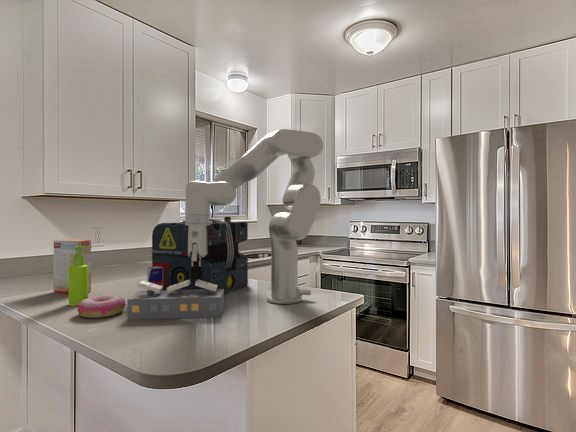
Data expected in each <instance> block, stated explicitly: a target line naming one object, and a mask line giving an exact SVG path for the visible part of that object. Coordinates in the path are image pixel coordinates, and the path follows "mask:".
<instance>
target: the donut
mask: <svg viewBox="0 0 576 432" xmlns="http://www.w3.org/2000/svg"><path fill="white" fill-rule="evenodd" d="M76 307H77V308H76V309H77V310H76V311H77V312H78V314H79V315H80V316H81V317H82V318H85V319H103V318H109V317H112V316H117V315H118V314H120V313H121V312H122V311H124V309H125V307H126V300H125V298H124V297H123V296H121V295H115V294H110V295H109V294H106V295H104V294H103V295H98V296H93V297H92V296H91V297H88V299H85V300H83V301H82V302H80V303H79V305H78V306H76Z"/></svg>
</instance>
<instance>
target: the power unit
mask: <svg viewBox="0 0 576 432" xmlns="http://www.w3.org/2000/svg"><path fill="white" fill-rule="evenodd" d="M248 228H249V227H248V222H247V221H232V218H231V216H225V217H223V220H221V219H218V218H210V225H207V250H208V253H207V255H206V256H205V257H202V279H194V280H192V279H191V267H192V257H189V256H188V229H189V225H185V220H182V221H180V222H161V223H158V224H156V226H155V227H154V228H153V230H152V235H151V247H152V248H151V267H155V266H160V267H163V290H167V288H168V287H169V286H172V285H175V284H178V283H179V282H183V281H186V280H189V279H190V282H191V283H190V284H189V285H188V286H185V287H183V288H182V290H197V289H205V288H202V287H199V286H195V283H196V281H197V280H202V281H205V282H209V283H212V284H215V285H218V286H217V289H224V295H226V294H229V293H231V292H235V291H237V289H238V290H241V289H242V287H243V288H246V287H247V285H248V284H249V281H248V280H249V279H248V278H249V276H248V273H249V266H248V263H249V261H248V259H249V258H248V255H245V254H243V253H241V252H239V244H240V243H243V242H245V241H248V240H249V239H248V236H249V235H248V233H249V232H248V231H249V229H248ZM245 286H246V287H245Z"/></svg>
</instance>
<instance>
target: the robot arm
mask: <svg viewBox="0 0 576 432" xmlns="http://www.w3.org/2000/svg"><path fill="white" fill-rule="evenodd" d="M323 149H324V142H323V139H322V137H321V136H320V135H319V134H317V133H316V132H311V131H304V130H296V129H287V128H280V129H277V130H274V131H272V132H270V133H268V134H266V135H265V136H264V137H262V138H261V139H260V140H259V141H257V143H256V144H254V146H252V147H251V148H250V149H249V150H248V151H247V152H246V153H245V154H243V155H242V156H241V157H239V159H237V160H236V161H235V162H234V163H232V165H230V166H229V167H228V168H227V169H225V170H224V171H223V172H222V173H220V174H219V175H218V176H217V177H216V178H214V180H212V181H211V182H207V181H202V180H201V181H200V180H190V181H188V182H187V183H186V184H185V208H184V209H185V216H184V217H185V218H184V221H185V225H189V229H188V256H189V257H192V267H191V279H192V280H194V279H202V257H205V256H206V255H207V253H208V250H207V225H210V222H211V221H210V219H211V206H213V207H214V206H228V205H230V204H232V203H233V202H234V201H235V200H236V197H237V189H238V188H240V187H241V186H242V185H245V184H246V183H248V182H251V181H252V180H254V179H256V178H258V177H259V176H260V175H261V174H263V172H265V170H266V169H267V168H269V167H270V165H272V164H273V163H274V161H276V160H277V159H278V158H279V157H280V156H284V155H285V156H286V155H287V157H288V158H289V160H290V163H291V165H292V172H291V175H290V177H289V180H288V183H287V185H286V188H285V191H284V192H283V197H282V206H284V209H287V210H288V211H283V212H282V211H281V212H277V213H275V214H274V215H273V216H272V217H271V218H270V220H269V224H268V232H269V239H270V250H271V251H270V256H271V257H270V258H271V259H270V260H271V261H270V263H271V265H270V266H271V267H270V269H271V272H270V273H271V274H270V275H271V276H270V281H271V282H270V284H271V285H270V287H271V290H270V292H271V293H270V295H267V297H266V301H267V302H269V303H272V304H277V305H279V304H280V305H291V304H298V303H300V302H302V300H303V296H305V295H306V296H311V294H312V291H311V289H306V288H303V289H302V288H300V287H299V286H298V284H299V283H298V282H299V281H298V280H299V279H298V277H299V276H298V275H299V273H298V271H299V270H298V269H299V268H298V266H299V265H298V263H299V262H298V260H299V259H298V256H299V253H298V252H299V251H298V244H297V241H301V240H303V239H305V238H306V237H307V236H308V235H309V234H310V231H311V229H312V228H313V224H314V221H315V218H317V217H316V216H317V213H318V211H319V208H320V206H321V201H322V200H321V192H320V190H319V188H318V187H317V186H316V185H314V184H313V183H314V180H315V175H316V172H315V171H316V170H315V168H314V163H313V162H312V160H311V159H312V158H316V157H318V156H319V155H320V154H321V153H322V152H323Z"/></svg>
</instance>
